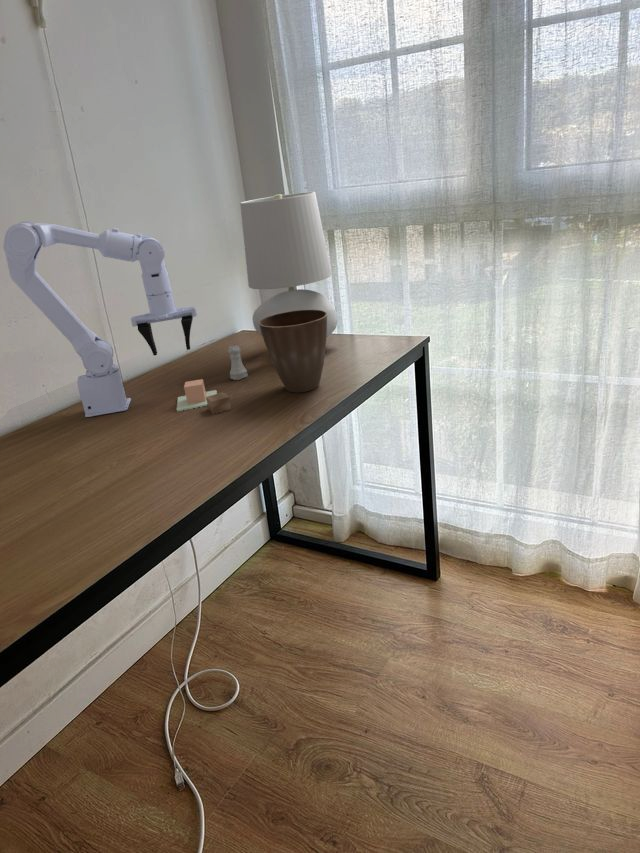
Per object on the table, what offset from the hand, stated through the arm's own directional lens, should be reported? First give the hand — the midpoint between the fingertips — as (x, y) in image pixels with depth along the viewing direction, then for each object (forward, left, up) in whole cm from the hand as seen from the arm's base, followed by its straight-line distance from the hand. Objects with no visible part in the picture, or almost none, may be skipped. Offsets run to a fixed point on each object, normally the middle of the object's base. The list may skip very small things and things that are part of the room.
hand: (172, 351), depth 155 cm
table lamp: (+31, +20, -11) cm, 38 cm away
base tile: (+4, -8, -11) cm, 14 cm away
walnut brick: (+9, -16, -11) cm, 21 cm away
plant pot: (+28, -11, -11) cm, 32 cm away
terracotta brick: (+4, -8, -10) cm, 14 cm away
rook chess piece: (+14, +5, -11) cm, 18 cm away
